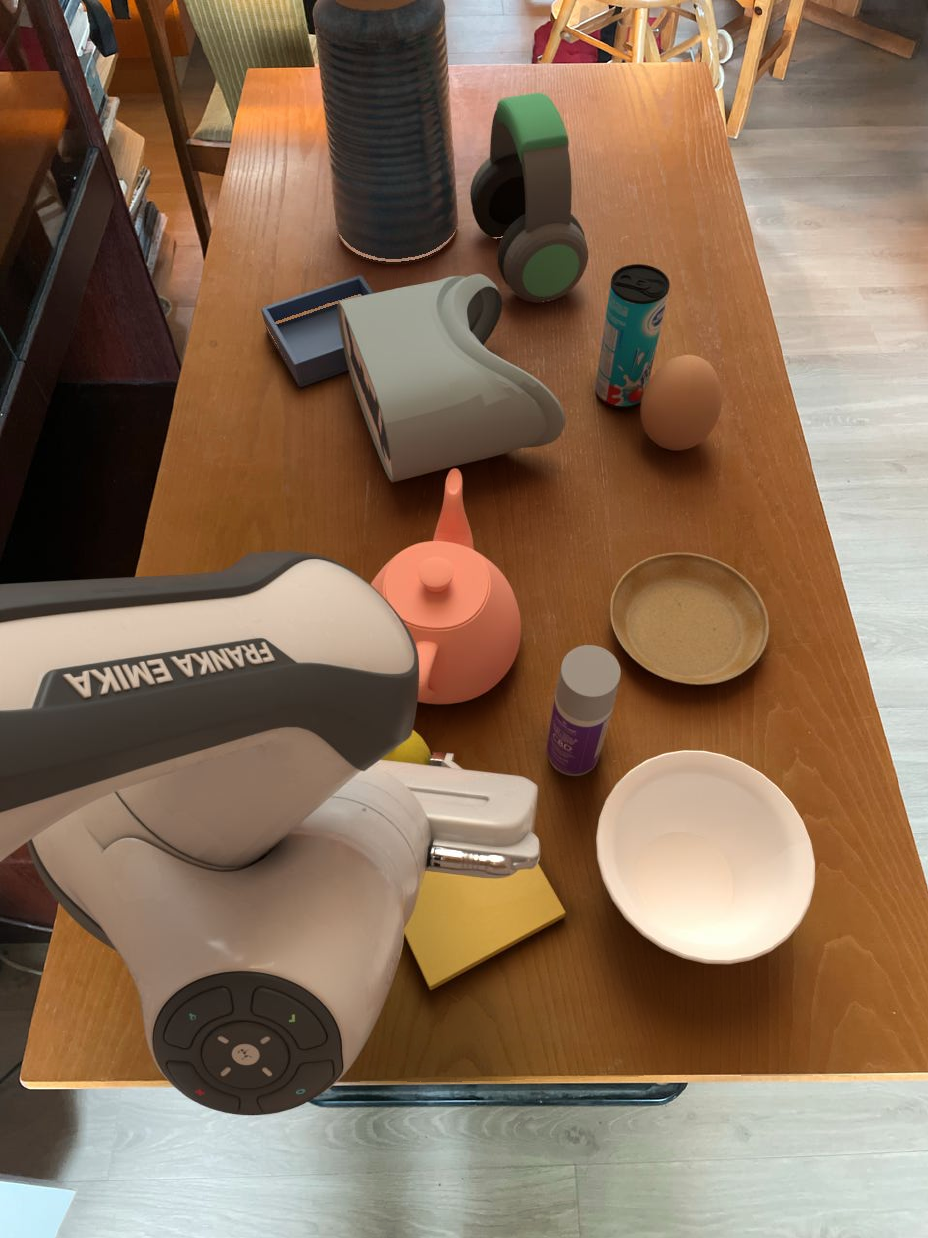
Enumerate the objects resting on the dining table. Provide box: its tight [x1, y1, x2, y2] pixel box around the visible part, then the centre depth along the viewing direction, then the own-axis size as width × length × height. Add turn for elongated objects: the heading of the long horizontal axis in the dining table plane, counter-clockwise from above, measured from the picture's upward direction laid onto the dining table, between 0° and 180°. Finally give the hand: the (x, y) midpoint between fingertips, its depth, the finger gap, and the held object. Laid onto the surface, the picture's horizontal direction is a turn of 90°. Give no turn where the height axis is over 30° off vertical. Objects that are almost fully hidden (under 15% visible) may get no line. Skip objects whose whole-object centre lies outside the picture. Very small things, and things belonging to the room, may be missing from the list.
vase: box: [312, 0, 459, 265], centre depth 105 cm, size 16×16×32 cm
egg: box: [640, 354, 723, 451], centre depth 93 cm, size 8×8×11 cm
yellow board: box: [404, 862, 566, 991], centre depth 71 cm, size 12×10×2 cm
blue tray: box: [260, 274, 375, 388], centre depth 106 cm, size 13×11×4 cm
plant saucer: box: [609, 552, 770, 686], centre depth 83 cm, size 15×15×3 cm
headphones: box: [469, 92, 589, 303], centre depth 106 cm, size 19×11×20 cm, turn 15°
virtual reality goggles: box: [337, 273, 566, 483], centre depth 95 cm, size 22×19×13 cm
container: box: [546, 644, 622, 777], centre depth 72 cm, size 5×5×15 cm
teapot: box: [370, 467, 522, 705], centre depth 79 cm, size 22×15×12 cm
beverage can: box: [594, 263, 671, 410], centre depth 95 cm, size 6×6×15 cm
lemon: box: [381, 729, 432, 765], centre depth 61 cm, size 6×6×8 cm
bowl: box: [595, 750, 816, 965], centre depth 68 cm, size 16×16×9 cm
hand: (393, 756), depth 61 cm, fingers closed on lemon, 5 cm apart
